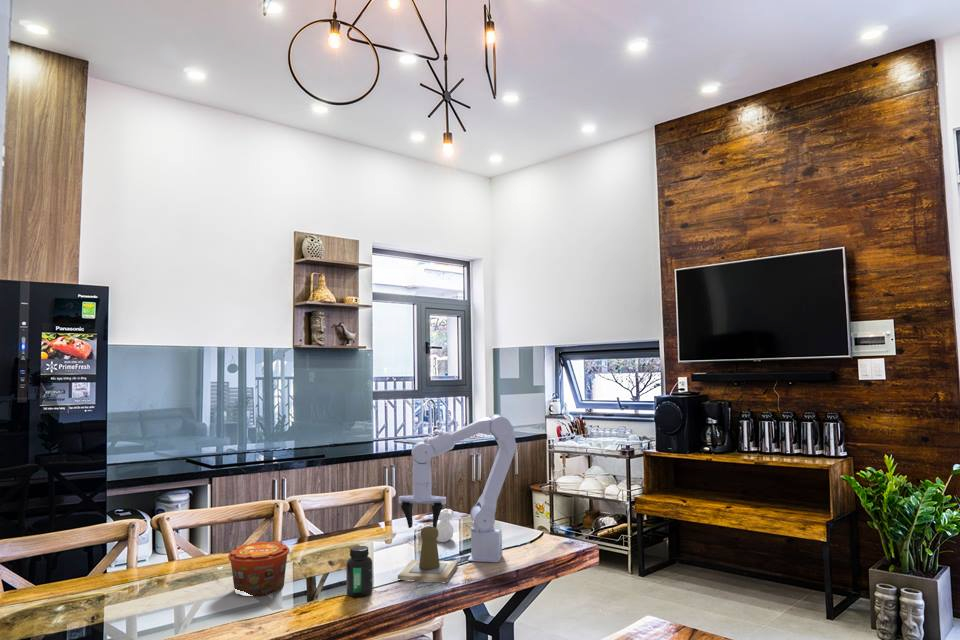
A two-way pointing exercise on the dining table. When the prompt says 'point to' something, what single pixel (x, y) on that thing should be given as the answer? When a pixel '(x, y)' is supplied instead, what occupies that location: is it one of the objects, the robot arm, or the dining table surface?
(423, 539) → the cork
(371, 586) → the supplement bottle
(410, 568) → the base board
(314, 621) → the dining table surface
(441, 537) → the bust
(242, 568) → the food container
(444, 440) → the robot arm
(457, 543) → the dining table surface
